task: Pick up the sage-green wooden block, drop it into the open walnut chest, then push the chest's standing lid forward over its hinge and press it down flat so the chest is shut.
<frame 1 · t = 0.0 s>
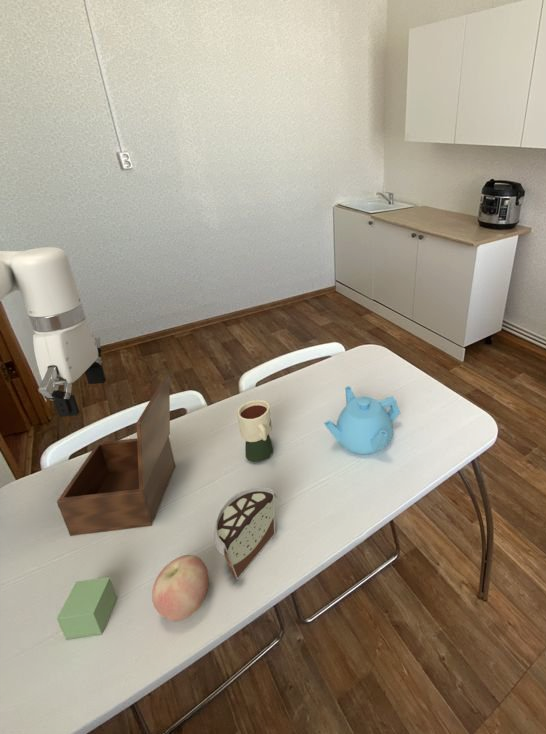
hand: (84, 397, 73), 24 cm above the table, tool pointing down, fingers open, 9 cm apart
character mug: (259, 455, 90), on the table
chest: (127, 497, 80), on the table
slice of cake: (245, 548, 70), on the table
lid: (155, 428, 75), point 17 cm above the table, hinge at 100.0°
teapot: (363, 437, 95), on the table
apple: (186, 604, 61), on the table
block: (92, 617, 60), on the table
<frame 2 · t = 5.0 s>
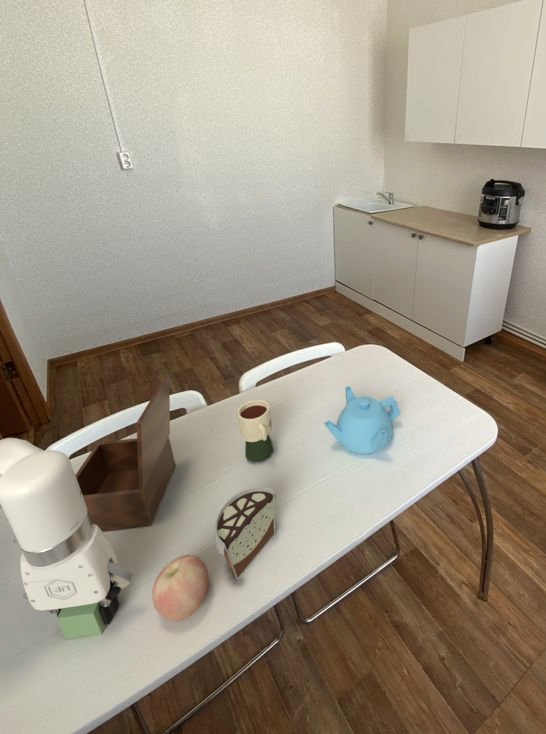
hand: (92, 615, 59), 0 cm above the table, tool pointing down, fingers closed on block, 5 cm apart
block: (92, 617, 60), on the table, touching gripper
everything else where it was.
when the fingers open (4 cm above the table, at t = 14.2 s): block drops 3 cm, resting on chest.
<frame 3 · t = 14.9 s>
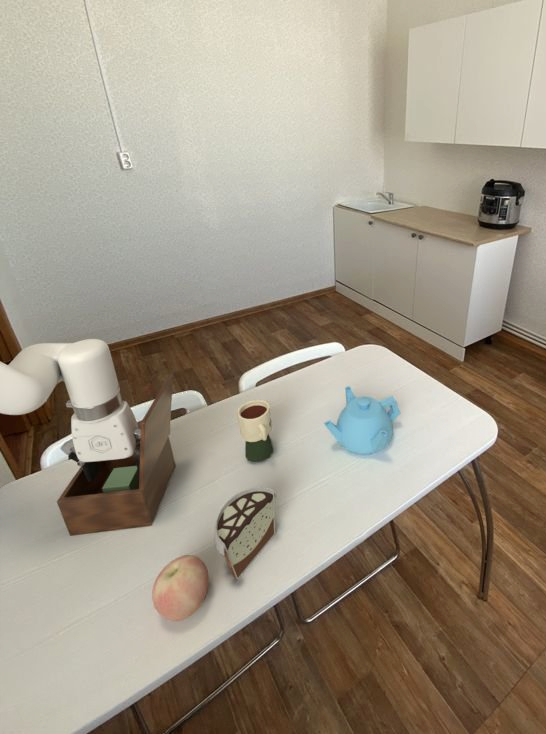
hand: (119, 473, 77), 7 cm above the table, tool pointing down, fingers open, 9 cm apart
lid: (157, 429, 75), point 17 cm above the table, hinge at 102.5°
block: (126, 494, 79), point 1 cm above the table, touching chest
everything else where it was.
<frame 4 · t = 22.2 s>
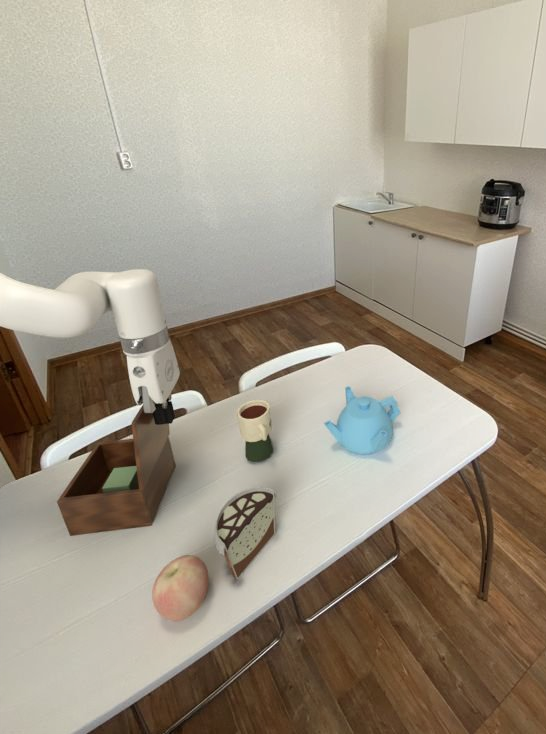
hand: (165, 421, 74), 18 cm above the table, tool pointing down, fingers closed
lid: (153, 428, 75), point 17 cm above the table, hinge at 96.9°, touching gripper
everything else where it was.
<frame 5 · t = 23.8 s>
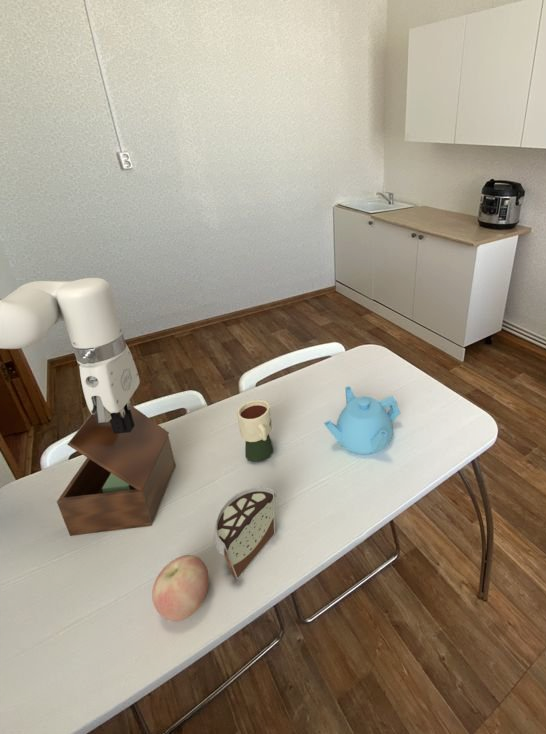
hand: (124, 429, 74), 17 cm above the table, tool pointing down, fingers closed
lid: (124, 437, 75), point 15 cm above the table, hinge at 52.7°, touching gripper
everything else where it was.
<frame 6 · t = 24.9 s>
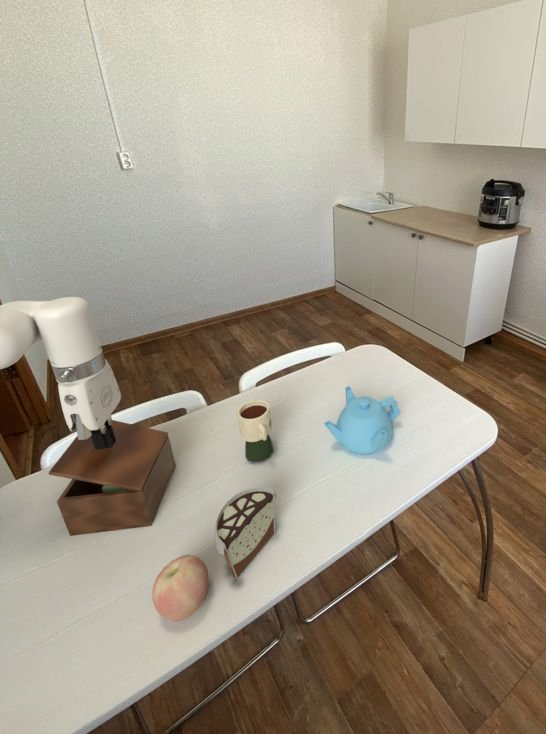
hand: (105, 445, 75), 14 cm above the table, tool pointing down, fingers closed
lid: (115, 451, 75), point 12 cm above the table, hinge at 24.1°, touching gripper
everything else where it was.
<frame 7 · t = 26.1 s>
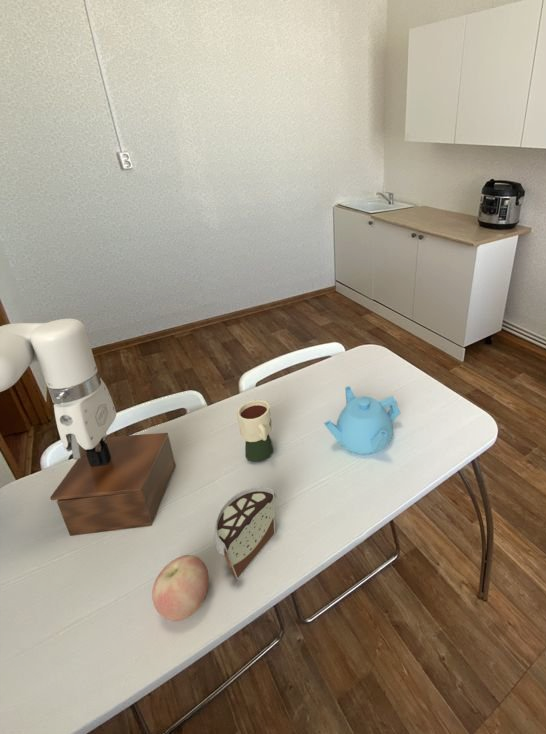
hand: (101, 462, 76), 10 cm above the table, tool pointing down, fingers closed
lid: (115, 463, 76), point 9 cm above the table, hinge at 1.5°, touching gripper
everything else where it was.
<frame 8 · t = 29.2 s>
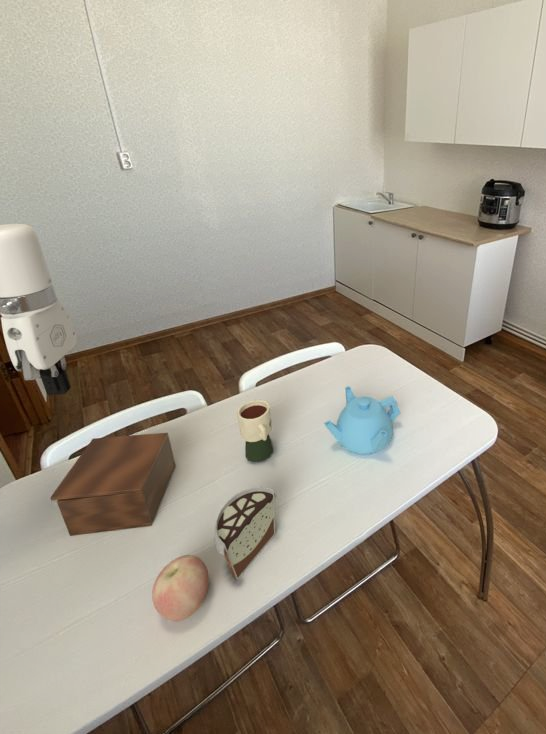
hand: (59, 391, 70), 27 cm above the table, tool pointing down, fingers closed
lid: (115, 463, 76), point 9 cm above the table, hinge at 1.3°
everything else where it was.
at the end: block inside the target area in the chest (0.1 cm from its centre), point 0.8 cm above the chest's base; lid at +1° (first picture: +100°) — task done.
